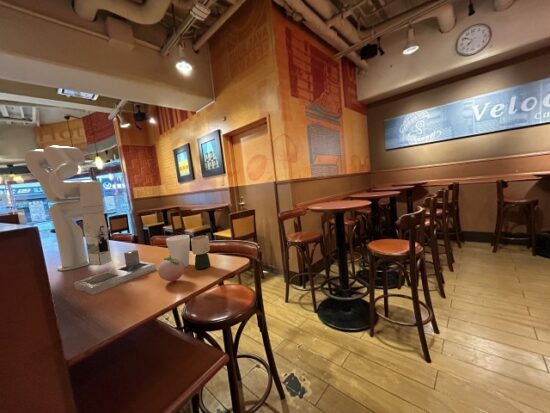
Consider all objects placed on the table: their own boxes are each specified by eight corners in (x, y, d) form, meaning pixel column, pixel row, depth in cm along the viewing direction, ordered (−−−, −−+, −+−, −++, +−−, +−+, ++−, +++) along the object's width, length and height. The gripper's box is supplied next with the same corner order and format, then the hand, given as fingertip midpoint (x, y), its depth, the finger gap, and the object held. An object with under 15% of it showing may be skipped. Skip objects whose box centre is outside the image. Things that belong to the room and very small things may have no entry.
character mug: (218, 266, 96) (215, 236, 95) (204, 272, 91) (200, 241, 89) (201, 262, 103) (198, 234, 101) (188, 268, 97) (184, 238, 95)
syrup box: (112, 260, 102) (108, 229, 100) (101, 265, 96) (96, 232, 94) (100, 260, 102) (96, 229, 101) (88, 265, 97) (83, 232, 95)
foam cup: (170, 265, 102) (166, 237, 101) (191, 261, 106) (188, 233, 105) (170, 272, 94) (166, 241, 93) (193, 267, 98) (190, 237, 96)
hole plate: (75, 288, 84) (71, 265, 83) (138, 265, 105) (135, 247, 104) (92, 294, 78) (88, 269, 77) (156, 269, 99) (153, 249, 98)
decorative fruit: (154, 285, 82) (150, 258, 81) (173, 276, 89) (169, 251, 88) (172, 289, 78) (168, 261, 77) (190, 279, 85) (187, 253, 84)
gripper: (72, 210, 97) (78, 250, 99) (93, 212, 89) (99, 255, 91) (93, 208, 104) (98, 245, 106) (114, 209, 95) (119, 250, 98)
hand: (99, 250), depth 98 cm, fingers closed on syrup box, 7 cm apart
